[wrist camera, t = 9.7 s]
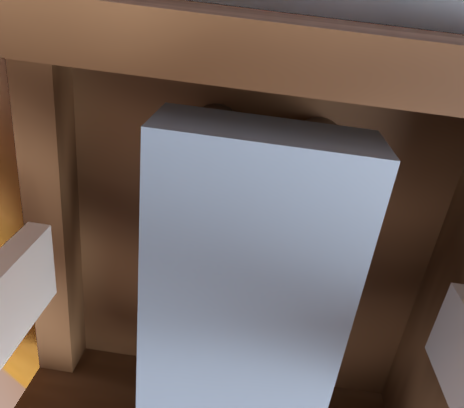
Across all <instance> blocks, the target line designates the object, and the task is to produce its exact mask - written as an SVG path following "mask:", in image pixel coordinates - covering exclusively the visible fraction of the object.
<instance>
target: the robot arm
mask: <svg viewBox="0 0 464 408" xmlns="http://www.w3.org/2000/svg"><path fill="white" fill-rule="evenodd" d="M56 293H57V290H56V278H55V267H54V255H53V244H52V233H51V225H47V224H40V223H33V222H27V223H26V224H25V225H24V226H23V227H22V228H21V229H20V230H19V231H18V232H17V233H16V234H15V235H13V236H12V237H11V238H10V239H9V240H8V241H7V242H6V243H5V244H4V245H3V246H2V247H1V248H0V370H1V369H2V367H3V366H4V365H5V363H6V362H7V361H8V359H9V358H10V356H11V355H12V354H13V352H14V351H15V349H16V348H17V347H18V345H19V344H20V343H21V341H22V340H23V338H24V337H25V336H26V334H27V333H28V332H29V330H30V329H31V327H32V326H33V325H34V323H35V322H36V320H37V319H38V318H39V316H40V315H41V314H42V312H43V311H44V309H45V308H46V307H47V305H48V304H49V302H50V301H51V300H52V298H53V297H54V296H55V294H56ZM425 349H426V352H427V354H428V357H429V359H430V362H431V364H432V367H433V369H434V372H435V374H436V377H437V379H438V382H439V384H440V386H441V389H442V391H443V394H444V396H445V399H446V401H447V404H448V406H449V408H464V284H458V283H451V284H450V287H449V289H448V291H447V294H446V296H445V299H444V301H443V304H442V306H441V309H440V311H439V313H438V316H437V318H436V321H435V323H434V326H433V328H432V331H431V333H430V336H429V338H428V340H427V343H426V345H425Z"/></svg>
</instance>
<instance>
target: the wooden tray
mask: <svg viewBox="0 0 464 408" xmlns="http://www.w3.org/2000/svg"><path fill="white" fill-rule="evenodd" d="M0 58H4V59H5V61H6V70H7V79H8V88H9V97H10V106H11V115H12V124H13V133H14V142H15V150H16V159H17V168H18V177H19V186H20V195H21V204H22V213H23V222H24V225H25V224H26V223H27V222H33V223H40V224H47V225H51V233H52V244H53V255H54V267H55V278H56V290H57V293H56V294H55V296H54V297H53V298H52V300H51V301H50V302H49V304H48V305H47V307H46V308H45V309H44V311H43V312H42V314H41V315H40V316H39V318H38V319H37V320H36V322H35V329H36V338H37V347H38V356H39V365H40V368H39V370H38V371H37V373H36V374H35V376H34V377H33V379H32V381H31V382H30V384H29V385H28V387H27V388H26V390H25V391H24V393H23V395H22V396H21V398H20V399H19V401H18V402H17V404H16V406H15V407H14V408H136V366H137V313H138V259H139V206H140V153H141V126H142V125H143V124H144V123H145V122H146V121H147V120H148V119H149V118H150V117H151V116H152V115H153V114H154V113H155V112H156V111H157V110H158V109H159V108H160V107H161V106H163V105H164V104H165V103H166V102H167V103H174V104H182V105H189V106H197V107H204V108H212V109H220V110H227V111H235V112H242V113H250V114H257V115H265V116H273V117H280V118H288V119H295V120H303V121H310V122H318V123H326V124H333V125H341V126H348V127H356V128H363V129H371V130H378V131H379V132H380V133H381V135H382V136H383V138H384V139H385V140H386V142H387V143H388V145H389V146H390V147H391V149H392V150H393V151H394V153H395V154H396V156H397V157H398V158H399V160H400V161H401V162H400V165H399V168H398V172H397V175H396V179H395V182H394V185H393V189H392V192H391V196H390V199H389V202H388V206H387V209H386V213H385V216H384V219H383V223H382V226H381V230H380V233H379V236H378V240H377V243H376V247H375V250H374V253H373V257H372V260H371V264H370V267H369V271H368V274H367V277H366V281H365V284H364V288H363V291H362V294H361V298H360V301H359V305H358V308H357V311H356V315H355V318H354V322H353V325H352V328H351V332H350V335H349V339H348V342H347V345H346V349H345V352H344V356H343V359H342V362H341V366H340V369H339V373H338V376H337V379H336V383H335V386H334V390H333V393H332V396H331V400H330V403H329V407H328V408H449V406H448V404H447V401H446V399H445V396H444V394H443V391H442V389H441V386H440V384H439V382H438V379H437V377H436V374H435V372H434V369H433V367H432V364H431V362H430V359H429V357H428V354H427V352H426V349H425V345H426V343H427V340H428V338H429V336H430V333H431V331H432V328H433V326H434V323H435V321H436V318H437V316H438V313H439V311H440V309H441V306H442V304H443V301H444V299H445V296H446V294H447V291H448V289H449V287H450V284H451V283H458V284H464V34H456V33H448V32H440V31H432V30H423V29H415V28H407V27H399V26H391V25H383V24H374V23H366V22H358V21H350V20H342V19H334V18H325V17H317V16H309V15H301V14H293V13H285V12H277V11H268V10H260V9H252V8H244V7H236V6H228V5H219V4H211V3H203V2H195V1H187V0H0Z"/></svg>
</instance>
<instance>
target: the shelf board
mask: <svg viewBox="0 0 464 408" xmlns="http://www.w3.org/2000/svg"><path fill="white" fill-rule="evenodd" d="M400 162H401V161H400V160H399V158H398V157H397V156H396V154H395V153H394V151H393V150H392V149H391V147H390V146H389V145H388V143H387V142H386V140H385V139H384V138H383V136H382V135H381V133H380V132H379V131H378V130H371V129H363V128H356V127H348V126H341V125H333V124H326V123H318V122H310V121H303V120H295V119H288V118H280V117H273V116H265V115H257V114H250V113H242V112H235V111H227V110H220V109H212V108H204V107H197V106H189V105H182V104H174V103H167V102H166V103H165V104H164V105H163V106H161V107H160V108H159V109H158V110H157V111H156V112H155V113H154V114H153V115H152V116H151V117H150V118H149V119H148V120H147V121H146V122H145V123H144V124H143V125H142V126H141V153H140V206H139V259H138V313H137V366H136V408H328V407H329V403H330V400H331V396H332V393H333V390H334V386H335V383H336V379H337V376H338V373H339V369H340V366H341V362H342V359H343V356H344V352H345V349H346V345H347V342H348V339H349V335H350V332H351V328H352V325H353V322H354V318H355V315H356V311H357V308H358V305H359V301H360V298H361V294H362V291H363V288H364V284H365V281H366V277H367V274H368V271H369V267H370V264H371V260H372V257H373V253H374V250H375V247H376V243H377V240H378V236H379V233H380V230H381V226H382V223H383V219H384V216H385V213H386V209H387V206H388V202H389V199H390V196H391V192H392V189H393V185H394V182H395V179H396V175H397V172H398V168H399V165H400Z"/></svg>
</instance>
